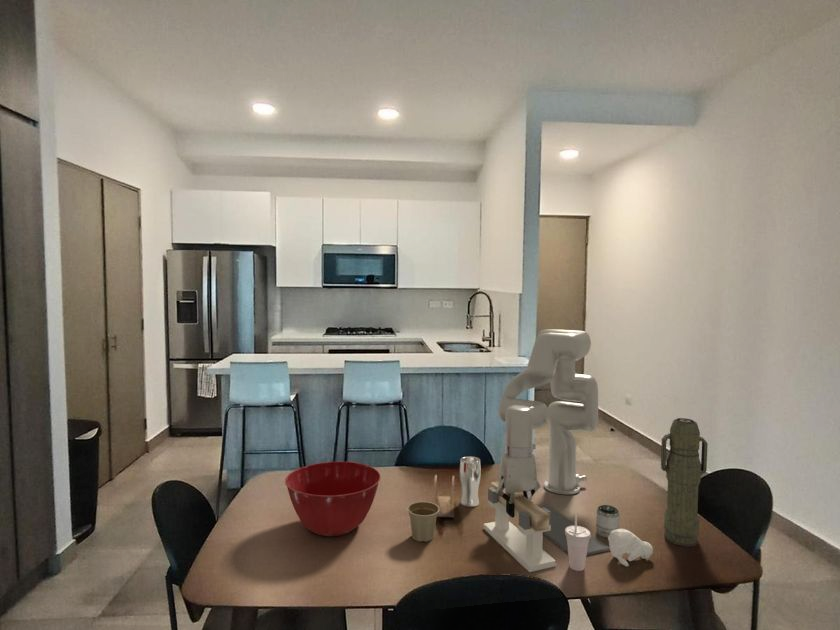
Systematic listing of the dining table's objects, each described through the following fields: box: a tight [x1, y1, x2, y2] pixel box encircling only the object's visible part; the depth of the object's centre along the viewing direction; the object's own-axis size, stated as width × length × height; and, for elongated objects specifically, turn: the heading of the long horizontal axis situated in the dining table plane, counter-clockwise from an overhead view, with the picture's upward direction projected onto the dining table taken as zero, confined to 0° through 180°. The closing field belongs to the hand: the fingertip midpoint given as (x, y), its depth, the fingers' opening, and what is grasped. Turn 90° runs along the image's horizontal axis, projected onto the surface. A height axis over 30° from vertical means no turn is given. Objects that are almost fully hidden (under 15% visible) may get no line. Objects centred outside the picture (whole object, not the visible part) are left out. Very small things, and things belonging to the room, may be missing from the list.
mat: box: [537, 503, 610, 557], centre depth 154 cm, size 12×30×1 cm, turn 21°
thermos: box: [660, 417, 708, 547], centre depth 148 cm, size 9×12×35 cm
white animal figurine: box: [607, 528, 654, 567], centre depth 137 cm, size 6×8×12 cm
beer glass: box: [459, 455, 482, 508], centre depth 172 cm, size 7×7×15 cm
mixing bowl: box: [284, 461, 382, 537], centre depth 156 cm, size 28×28×16 cm
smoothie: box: [565, 514, 592, 572], centre depth 133 cm, size 6×6×14 cm
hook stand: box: [483, 486, 557, 573], centre depth 144 cm, size 8×25×14 cm, turn 21°
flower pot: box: [406, 501, 440, 543], centre depth 149 cm, size 9×9×9 cm
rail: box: [490, 480, 549, 532], centre depth 144 cm, size 4×24×4 cm, turn 21°
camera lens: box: [595, 504, 620, 539], centre depth 152 cm, size 6×6×8 cm
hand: (517, 513), depth 144 cm, fingers closed on rail, 4 cm apart
